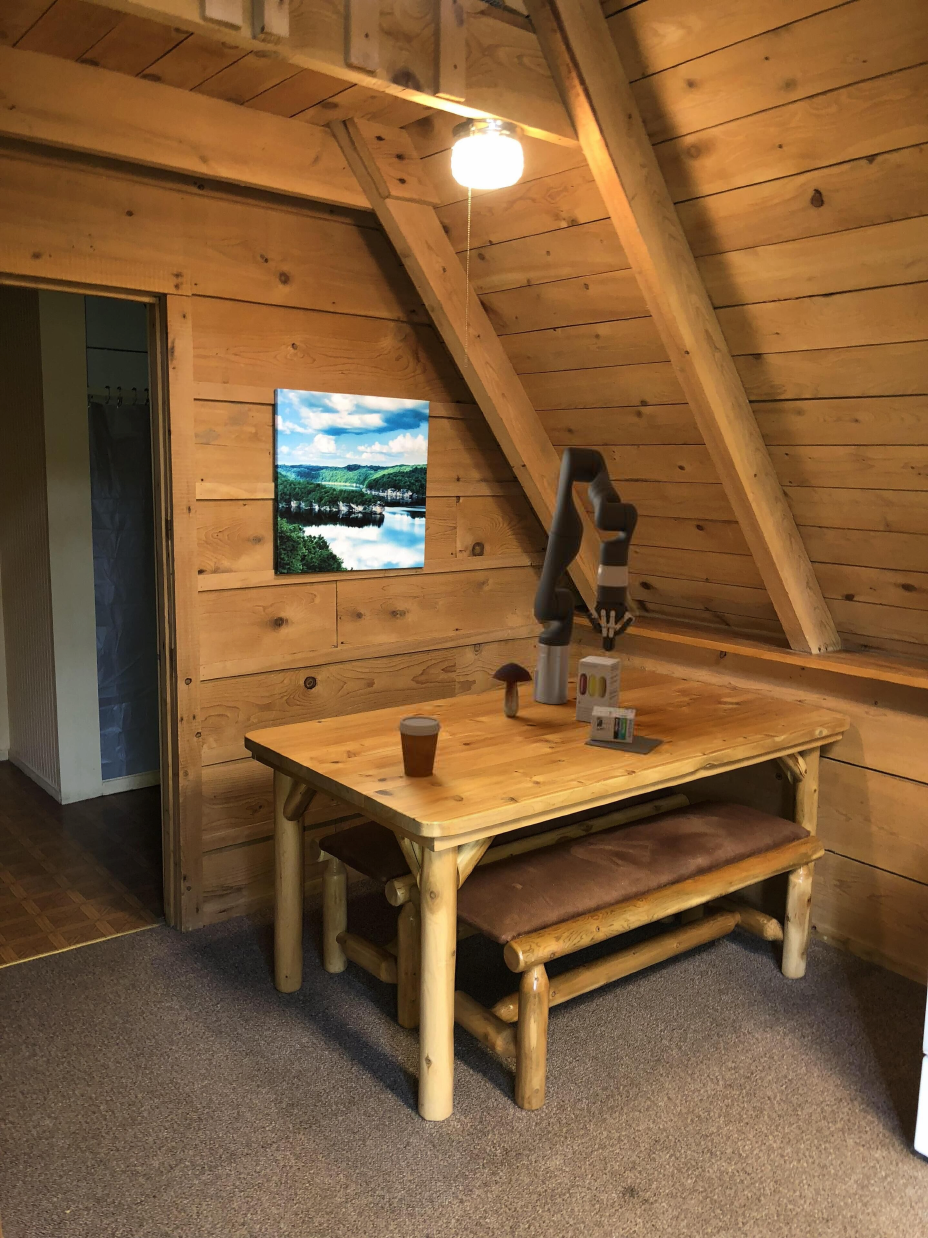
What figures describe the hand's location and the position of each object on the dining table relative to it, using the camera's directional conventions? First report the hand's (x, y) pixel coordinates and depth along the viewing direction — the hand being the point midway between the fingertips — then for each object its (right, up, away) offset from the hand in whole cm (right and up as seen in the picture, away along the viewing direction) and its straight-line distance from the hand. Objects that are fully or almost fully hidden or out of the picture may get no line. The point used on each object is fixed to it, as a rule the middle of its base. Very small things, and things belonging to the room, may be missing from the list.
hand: (608, 650), depth 251 cm
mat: (+4, -23, 0) cm, 24 cm away
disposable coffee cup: (-47, -27, -28) cm, 61 cm away
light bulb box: (-4, -19, +5) cm, 20 cm away
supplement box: (0, -20, +23) cm, 30 cm away
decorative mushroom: (-24, -19, +23) cm, 38 cm away
